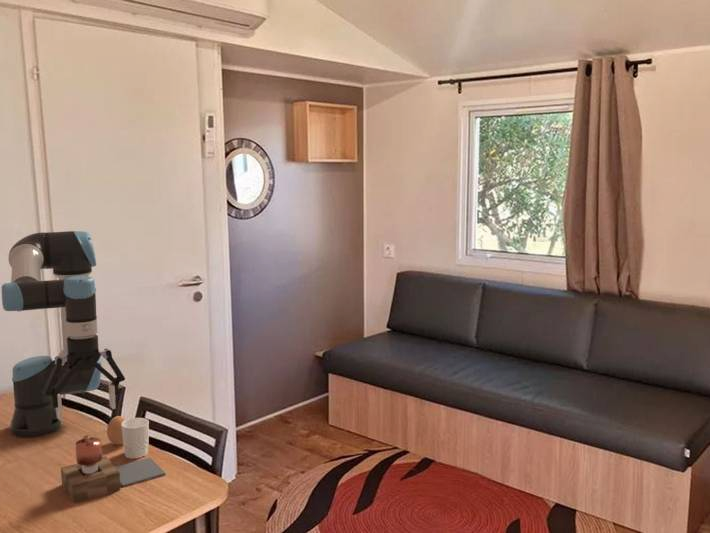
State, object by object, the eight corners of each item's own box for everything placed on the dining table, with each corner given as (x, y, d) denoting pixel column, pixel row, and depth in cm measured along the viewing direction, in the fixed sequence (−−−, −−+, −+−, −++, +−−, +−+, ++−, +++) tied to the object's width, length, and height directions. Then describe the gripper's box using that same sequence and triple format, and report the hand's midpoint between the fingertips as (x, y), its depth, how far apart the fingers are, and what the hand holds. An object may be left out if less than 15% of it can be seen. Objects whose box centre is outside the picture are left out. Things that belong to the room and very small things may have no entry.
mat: (109, 470, 190) (109, 468, 190) (150, 459, 197) (150, 457, 197) (122, 487, 180) (122, 485, 180) (165, 474, 188) (165, 472, 188)
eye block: (61, 484, 181) (60, 467, 180) (106, 472, 189) (105, 456, 188) (73, 503, 172) (72, 485, 171) (120, 489, 179) (119, 472, 178)
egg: (123, 449, 203) (122, 421, 202) (103, 447, 205) (102, 419, 203) (134, 440, 210) (132, 413, 208) (114, 438, 211) (113, 411, 210)
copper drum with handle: (75, 486, 181) (72, 438, 179) (99, 479, 185) (96, 432, 182) (82, 495, 176) (79, 446, 174) (106, 488, 180) (104, 440, 177)
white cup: (141, 461, 196) (140, 429, 194) (117, 458, 198) (116, 426, 196) (154, 449, 204) (153, 418, 202) (131, 447, 205) (130, 416, 204)
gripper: (33, 346, 163) (39, 428, 166) (134, 331, 178) (138, 406, 181) (27, 339, 169) (32, 419, 172) (125, 325, 184) (128, 399, 187)
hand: (86, 413), depth 177 cm, fingers open, 13 cm apart
